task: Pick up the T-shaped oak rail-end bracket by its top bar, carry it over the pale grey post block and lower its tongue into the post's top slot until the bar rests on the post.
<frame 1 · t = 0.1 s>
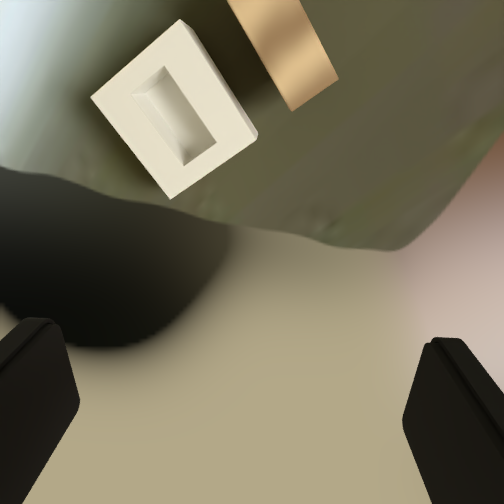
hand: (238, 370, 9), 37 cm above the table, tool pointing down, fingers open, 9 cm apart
rail end: (278, 44, 38), on the table
post: (187, 114, 41), on the table
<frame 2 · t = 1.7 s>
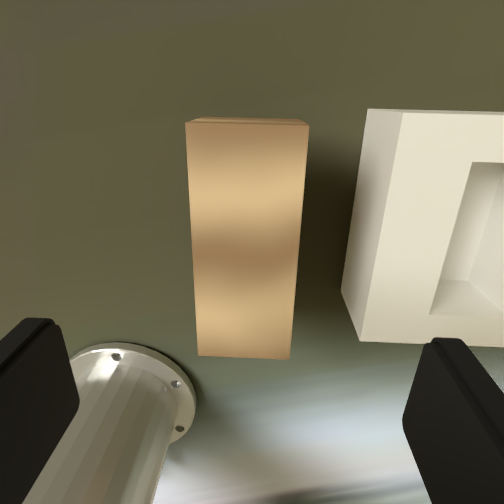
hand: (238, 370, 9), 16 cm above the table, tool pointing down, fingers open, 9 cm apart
rail end: (252, 206, 24), on the table
post: (440, 212, 24), on the table
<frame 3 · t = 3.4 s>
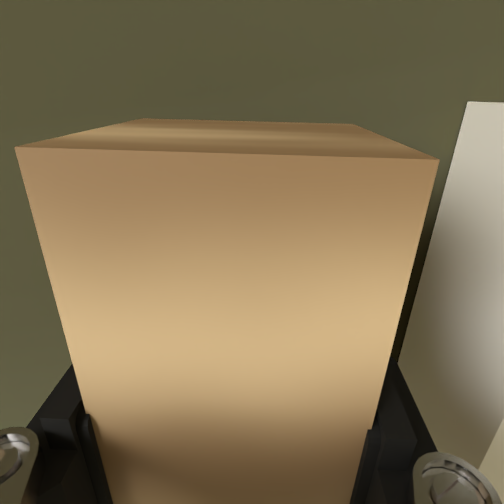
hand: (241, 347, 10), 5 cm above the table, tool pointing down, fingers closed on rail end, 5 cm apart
rail end: (250, 266, 14), on the table, touching gripper
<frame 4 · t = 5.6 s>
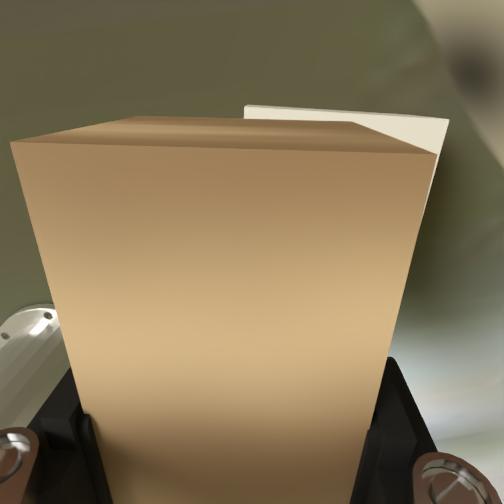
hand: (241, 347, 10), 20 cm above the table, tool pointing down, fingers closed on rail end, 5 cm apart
rail end: (249, 265, 14), point 15 cm above the table, touching gripper
post: (316, 195, 28), on the table
when the fingers open (8 cm above the table, at t = 8.1 s): rail end stays where it is, resting on post.
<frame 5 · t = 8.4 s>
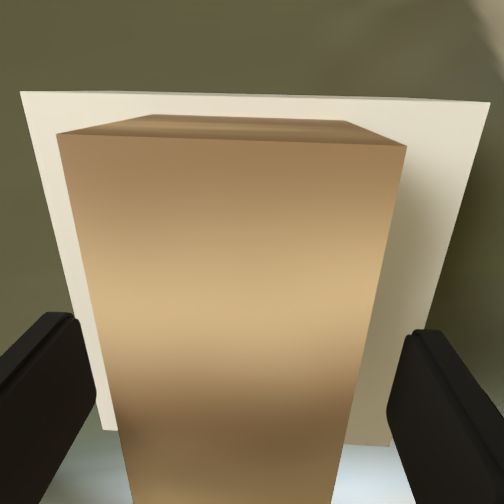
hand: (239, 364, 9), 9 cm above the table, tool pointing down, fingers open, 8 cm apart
rail end: (250, 256, 15), point 2 cm above the table, touching post
post: (253, 238, 17), on the table
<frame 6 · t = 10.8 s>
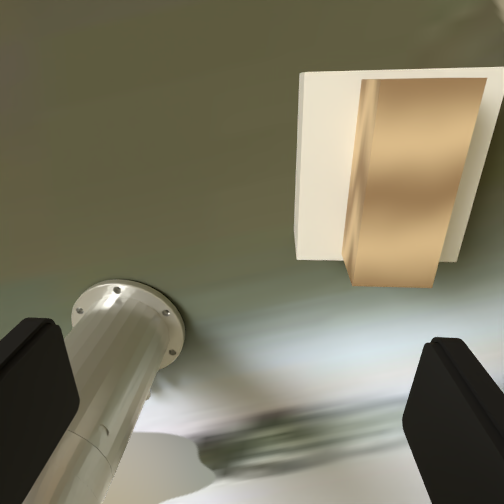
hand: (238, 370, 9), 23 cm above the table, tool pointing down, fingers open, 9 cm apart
rail end: (373, 163, 27), point 2 cm above the table, touching post
post: (368, 158, 29), on the table
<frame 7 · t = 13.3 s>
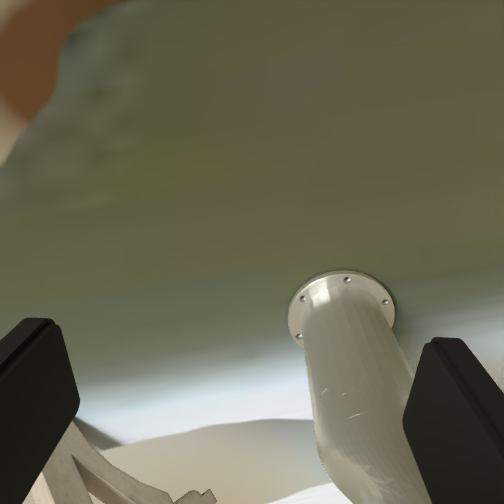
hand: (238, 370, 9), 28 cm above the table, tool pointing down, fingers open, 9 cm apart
wall bracket: (120, 447, 56), on the table
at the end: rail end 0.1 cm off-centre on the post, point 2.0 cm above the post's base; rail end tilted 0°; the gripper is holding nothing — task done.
